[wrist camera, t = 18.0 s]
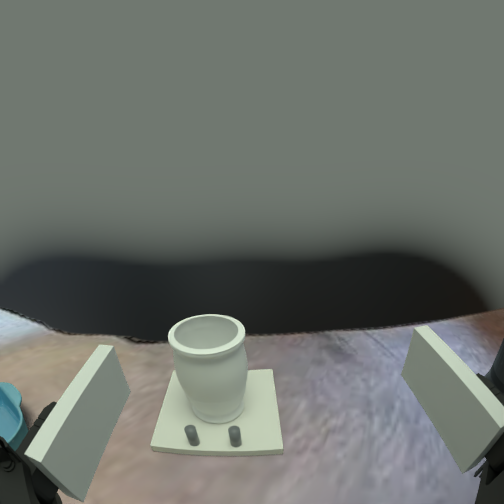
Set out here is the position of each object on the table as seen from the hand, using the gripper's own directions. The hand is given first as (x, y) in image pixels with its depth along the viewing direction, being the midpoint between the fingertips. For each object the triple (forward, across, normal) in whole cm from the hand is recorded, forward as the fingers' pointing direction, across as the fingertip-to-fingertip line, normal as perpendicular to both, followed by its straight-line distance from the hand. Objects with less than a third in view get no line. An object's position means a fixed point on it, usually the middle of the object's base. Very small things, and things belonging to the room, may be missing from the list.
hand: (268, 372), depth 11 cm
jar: (+23, -7, -27) cm, 36 cm away
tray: (+23, -7, -28) cm, 37 cm away
